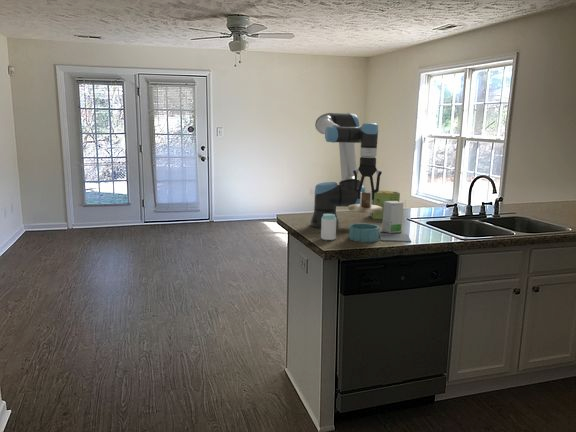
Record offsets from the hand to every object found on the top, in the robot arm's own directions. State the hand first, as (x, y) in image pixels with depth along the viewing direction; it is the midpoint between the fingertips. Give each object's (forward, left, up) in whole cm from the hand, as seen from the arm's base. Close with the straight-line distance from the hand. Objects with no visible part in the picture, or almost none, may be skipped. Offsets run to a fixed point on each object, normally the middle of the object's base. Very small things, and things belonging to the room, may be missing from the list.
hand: (365, 206), depth 227 cm
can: (-17, -5, -16) cm, 24 cm away
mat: (+15, +4, -16) cm, 22 cm away
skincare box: (+15, +19, -16) cm, 29 cm away
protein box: (+14, +57, -16) cm, 61 cm away
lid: (0, 0, -2) cm, 2 cm away
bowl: (0, 0, -16) cm, 16 cm away
